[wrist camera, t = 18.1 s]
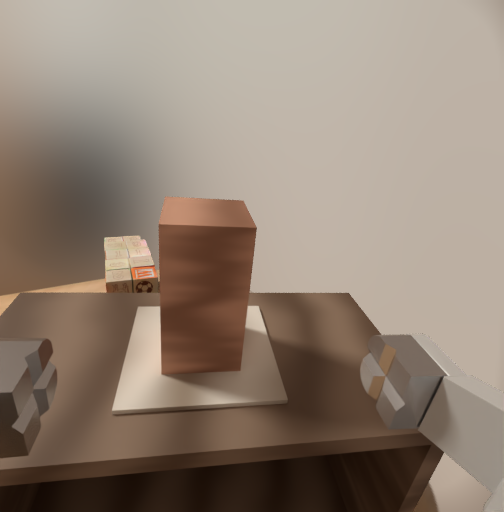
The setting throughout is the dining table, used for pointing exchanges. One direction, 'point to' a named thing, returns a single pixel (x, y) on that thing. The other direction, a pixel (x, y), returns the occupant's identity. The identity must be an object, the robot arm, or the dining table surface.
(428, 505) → the dining table surface
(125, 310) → the cubby
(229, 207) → the terracotta block
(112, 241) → the stack of blocks
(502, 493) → the robot arm
